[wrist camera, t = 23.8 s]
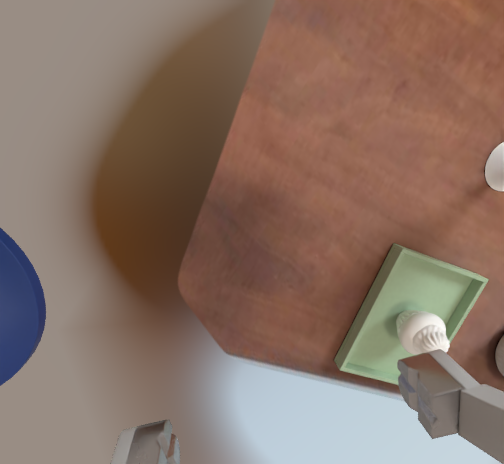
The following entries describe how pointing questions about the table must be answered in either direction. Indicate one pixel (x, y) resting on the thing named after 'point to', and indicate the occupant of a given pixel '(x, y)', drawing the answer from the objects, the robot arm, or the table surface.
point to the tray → (405, 298)
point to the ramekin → (500, 355)
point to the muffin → (421, 332)
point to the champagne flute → (495, 168)
